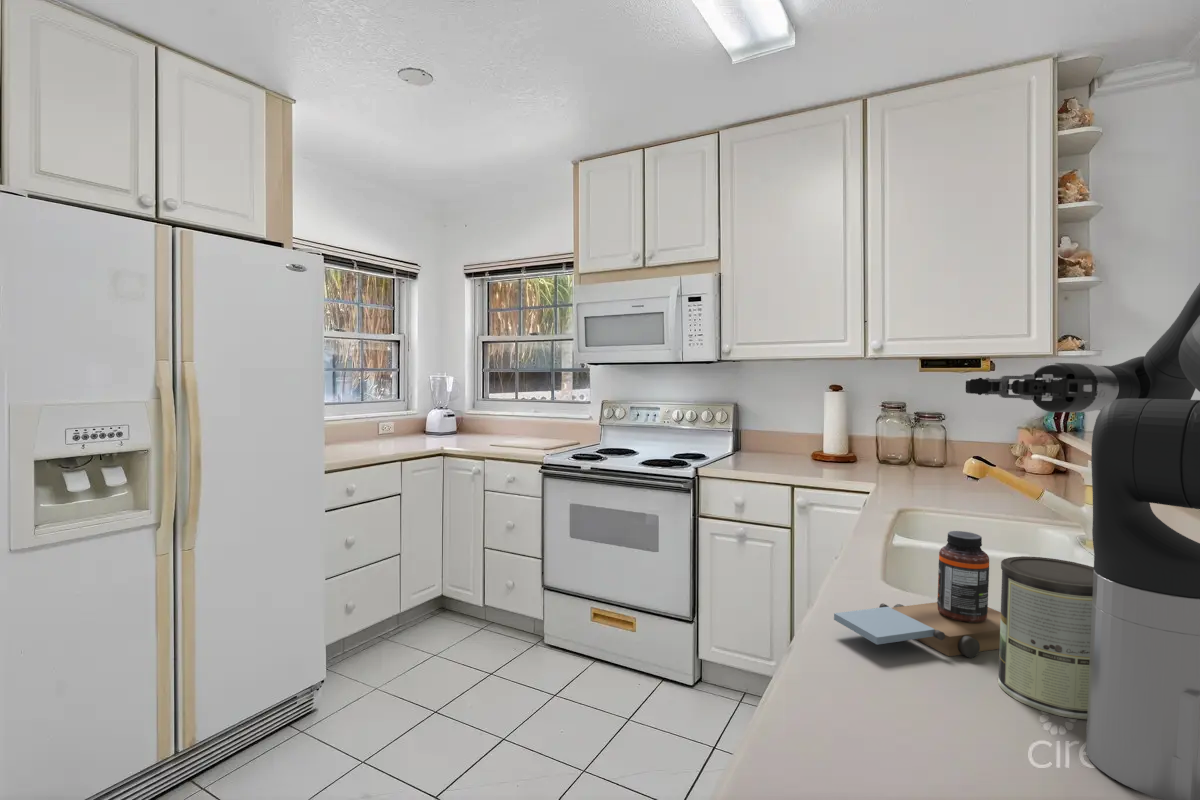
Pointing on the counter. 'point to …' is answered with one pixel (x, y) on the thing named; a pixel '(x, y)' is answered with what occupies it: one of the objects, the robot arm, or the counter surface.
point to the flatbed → (955, 630)
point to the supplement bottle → (963, 578)
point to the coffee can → (1046, 634)
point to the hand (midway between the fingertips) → (993, 386)
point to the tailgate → (883, 625)
